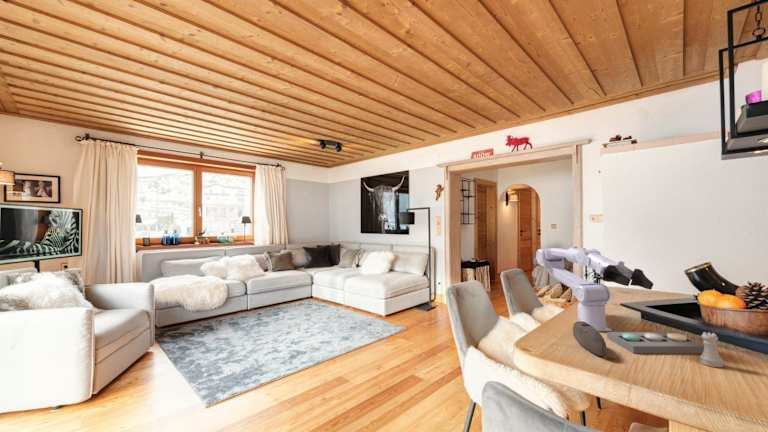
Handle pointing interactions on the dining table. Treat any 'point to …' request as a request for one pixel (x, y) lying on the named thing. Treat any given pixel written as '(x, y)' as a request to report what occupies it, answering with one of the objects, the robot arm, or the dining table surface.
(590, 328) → the perforated stone tool
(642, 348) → the button board
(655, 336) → the grey button
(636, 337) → the teal button
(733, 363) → the dining table surface
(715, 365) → the rook chess piece
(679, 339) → the cream button
